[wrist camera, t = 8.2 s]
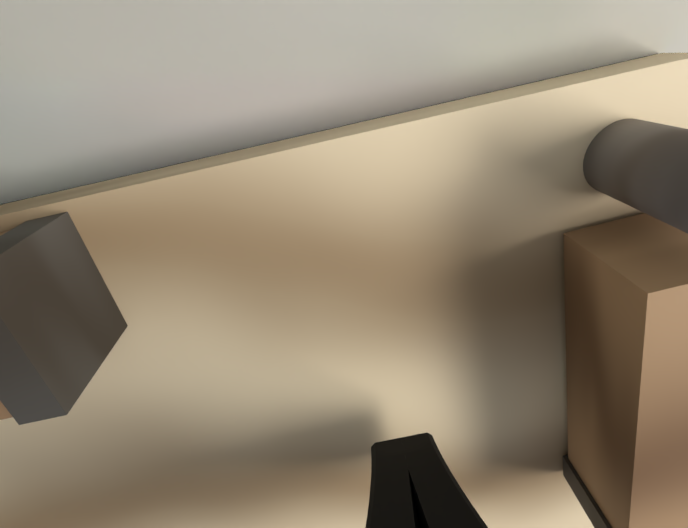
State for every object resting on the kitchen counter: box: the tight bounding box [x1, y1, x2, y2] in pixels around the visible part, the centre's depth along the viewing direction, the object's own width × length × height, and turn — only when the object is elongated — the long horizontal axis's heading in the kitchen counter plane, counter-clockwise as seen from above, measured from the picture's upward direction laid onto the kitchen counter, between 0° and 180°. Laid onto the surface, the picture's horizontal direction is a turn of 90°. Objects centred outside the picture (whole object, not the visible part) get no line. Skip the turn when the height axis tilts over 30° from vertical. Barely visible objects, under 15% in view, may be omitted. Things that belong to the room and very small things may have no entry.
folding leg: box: [562, 213, 688, 528], centre depth 9 cm, size 8×3×3 cm, turn 14°
